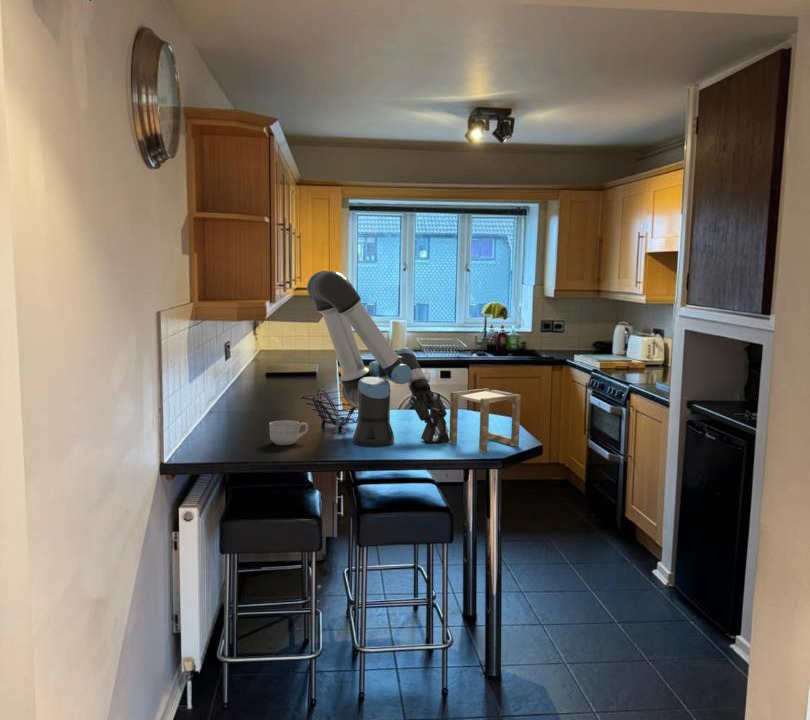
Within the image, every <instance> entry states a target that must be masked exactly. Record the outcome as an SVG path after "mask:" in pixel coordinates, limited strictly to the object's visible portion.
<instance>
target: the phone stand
mask: <svg viewBox="0 0 810 720" xmlns="http://www.w3.org/2000/svg"><path fill="white" fill-rule="evenodd" d="M429 414H430V417H431V418H433V423H432V427H431V428H429V426H428V424H427V423H425V427H424V429H423V431H422V434H421V436H420V439H421V440H423V441H425V442H427V443H449V434H448V433H449V432H448V433H446V426H447V424H446V425H445V421H446V420H445V421H444V419H445V417H444V411H443V410H441V409H438V408H430V410H429ZM431 418H430V419H431ZM435 427H437V428H438V430H439V432H440V433H439V434H438V435H437V437H435V435H434V434H435Z"/></svg>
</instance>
